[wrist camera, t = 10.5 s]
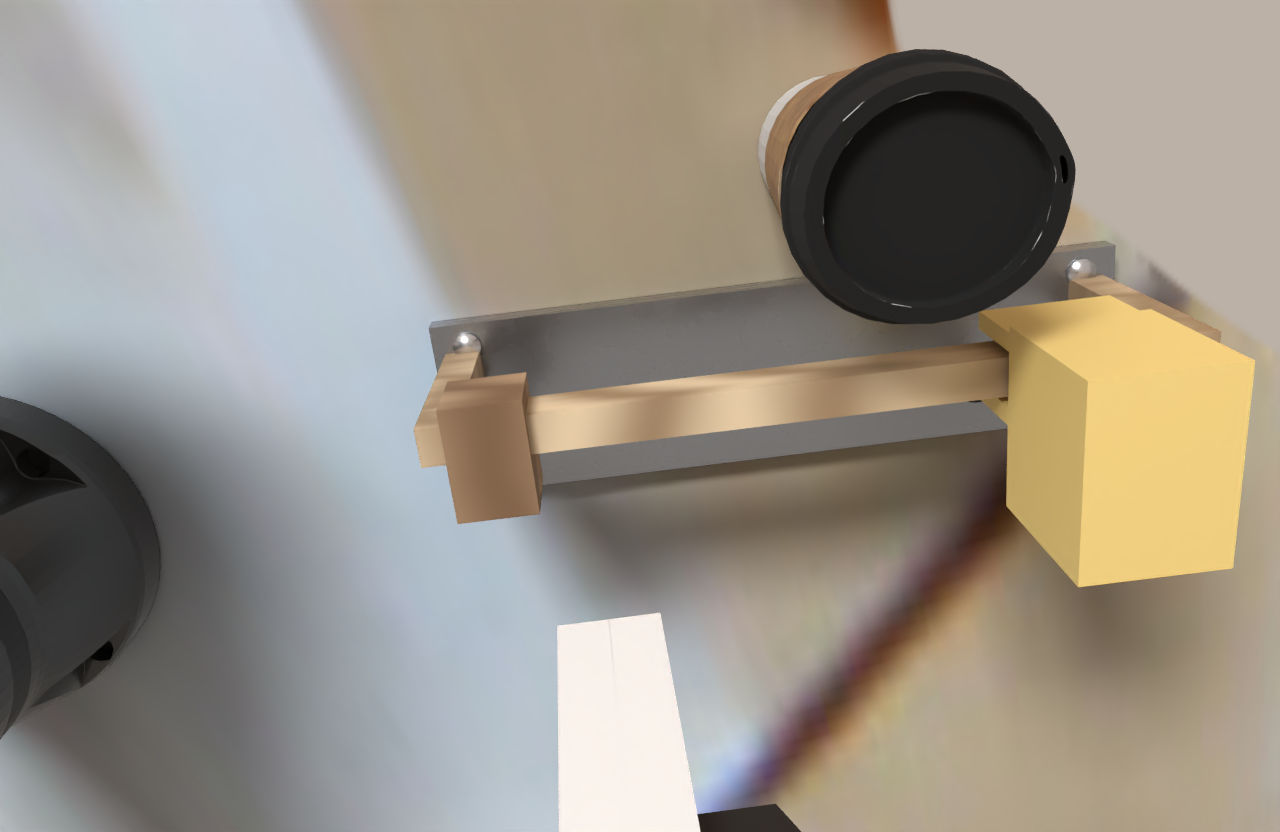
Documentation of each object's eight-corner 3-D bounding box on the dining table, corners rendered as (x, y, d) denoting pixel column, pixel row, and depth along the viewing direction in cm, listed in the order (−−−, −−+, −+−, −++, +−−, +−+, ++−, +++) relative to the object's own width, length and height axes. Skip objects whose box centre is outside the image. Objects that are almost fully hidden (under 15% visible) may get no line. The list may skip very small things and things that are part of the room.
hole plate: (463, 485, 48) (460, 497, 47) (432, 321, 46) (428, 329, 44) (1096, 408, 49) (1108, 417, 47) (1104, 241, 46) (1117, 246, 45)
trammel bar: (462, 446, 47) (433, 545, 38) (442, 337, 45) (407, 414, 36) (1097, 369, 47) (1218, 449, 38) (1103, 258, 45) (1231, 314, 36)
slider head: (932, 421, 47) (1078, 587, 33) (930, 270, 44) (1088, 381, 30) (1041, 408, 47) (1232, 568, 33) (1045, 256, 44) (1255, 360, 30)
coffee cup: (940, 215, 45) (1102, 300, 31) (753, 269, 45) (829, 378, 31) (905, 16, 42) (1066, 11, 28) (705, 77, 42) (765, 101, 28)
